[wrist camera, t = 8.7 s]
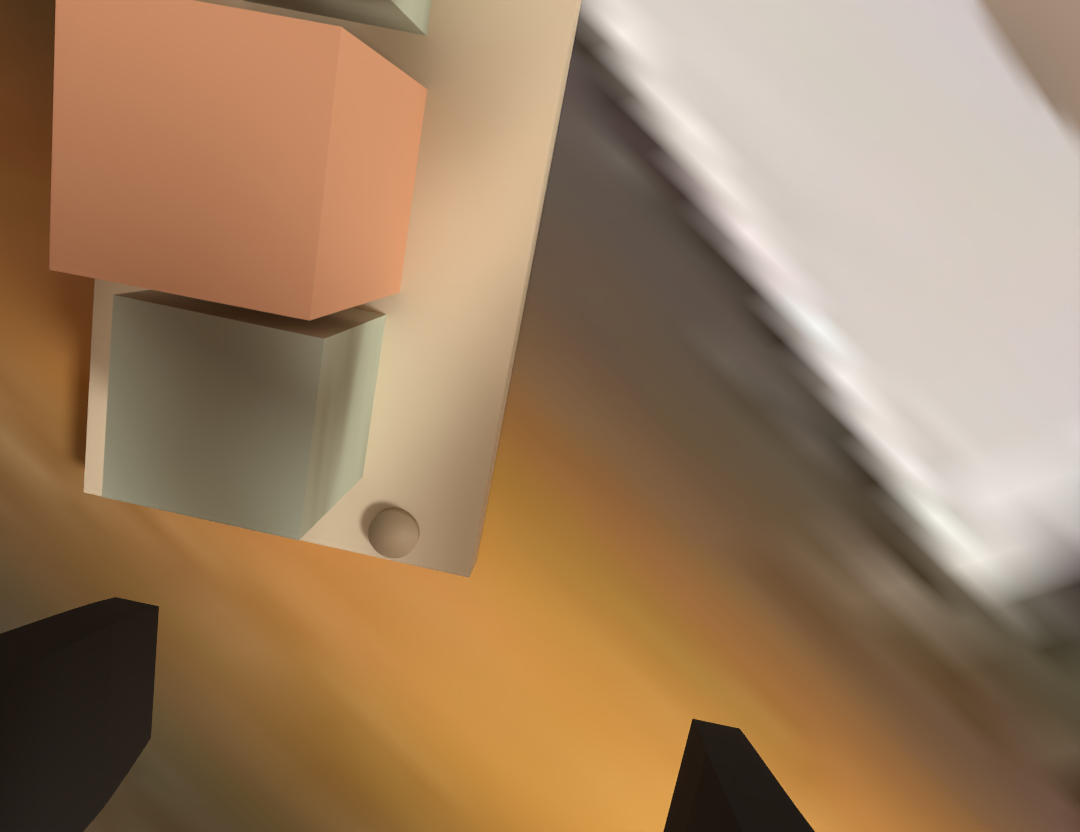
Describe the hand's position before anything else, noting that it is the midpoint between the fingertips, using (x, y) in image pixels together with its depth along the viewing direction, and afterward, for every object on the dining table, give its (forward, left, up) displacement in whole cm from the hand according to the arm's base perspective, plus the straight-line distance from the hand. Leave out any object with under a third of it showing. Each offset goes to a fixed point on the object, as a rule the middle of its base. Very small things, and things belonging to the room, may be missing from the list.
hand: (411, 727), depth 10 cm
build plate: (-6, +7, -10) cm, 13 cm away
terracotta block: (-6, +7, -9) cm, 12 cm away
